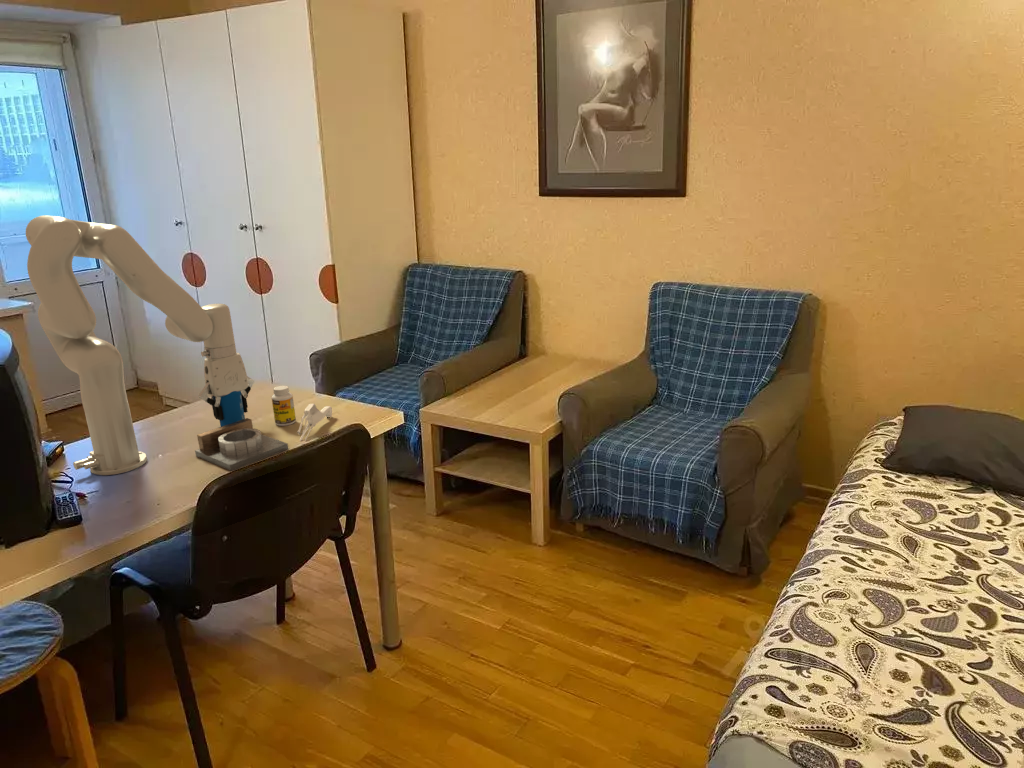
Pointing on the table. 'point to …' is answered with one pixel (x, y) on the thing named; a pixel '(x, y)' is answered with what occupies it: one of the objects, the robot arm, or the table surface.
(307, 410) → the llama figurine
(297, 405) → the table surface
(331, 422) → the table surface
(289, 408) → the supplement bottle
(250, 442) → the jig
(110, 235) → the robot arm
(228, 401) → the beverage can
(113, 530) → the table surface
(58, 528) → the table surface
